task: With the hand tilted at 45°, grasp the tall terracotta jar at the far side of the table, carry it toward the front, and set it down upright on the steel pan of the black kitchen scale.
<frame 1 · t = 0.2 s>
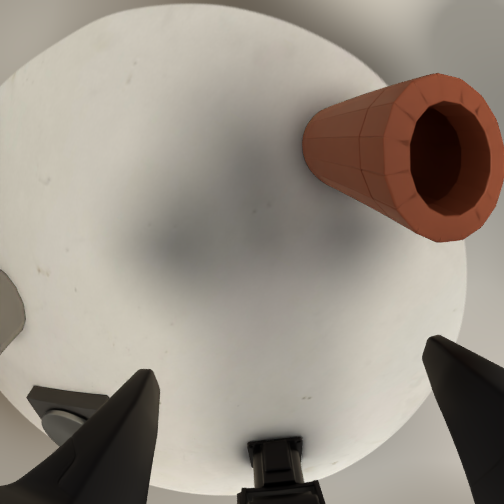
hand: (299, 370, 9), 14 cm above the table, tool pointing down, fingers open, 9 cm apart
scale: (86, 421, 29), on the table
scale pan: (78, 439, 26), point 3 cm above the table, slide at 0.0 cm
jar: (343, 146, 20), on the table
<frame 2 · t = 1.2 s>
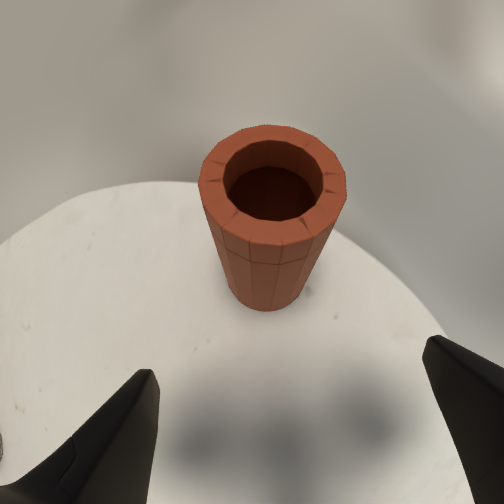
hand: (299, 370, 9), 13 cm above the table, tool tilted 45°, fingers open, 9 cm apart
jar: (266, 273, 23), on the table
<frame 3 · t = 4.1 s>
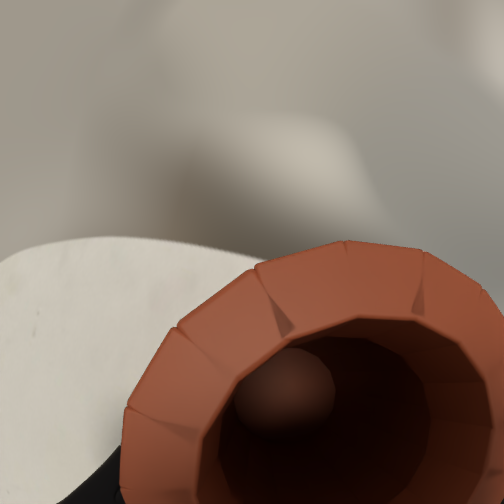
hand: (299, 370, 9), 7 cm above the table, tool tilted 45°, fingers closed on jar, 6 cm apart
jar: (284, 395, 14), on the table, touching gripper
when the fingers open (10 cm above the table, at t = 14.1 s): jar stays where it is, resting on scale pan.
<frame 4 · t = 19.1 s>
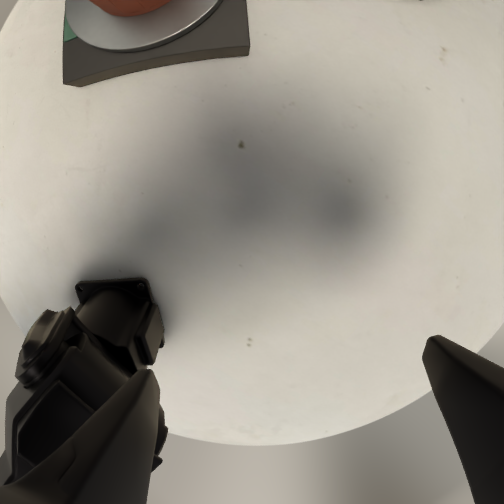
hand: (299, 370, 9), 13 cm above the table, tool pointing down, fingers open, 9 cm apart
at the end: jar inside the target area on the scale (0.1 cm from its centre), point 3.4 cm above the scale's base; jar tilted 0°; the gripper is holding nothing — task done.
